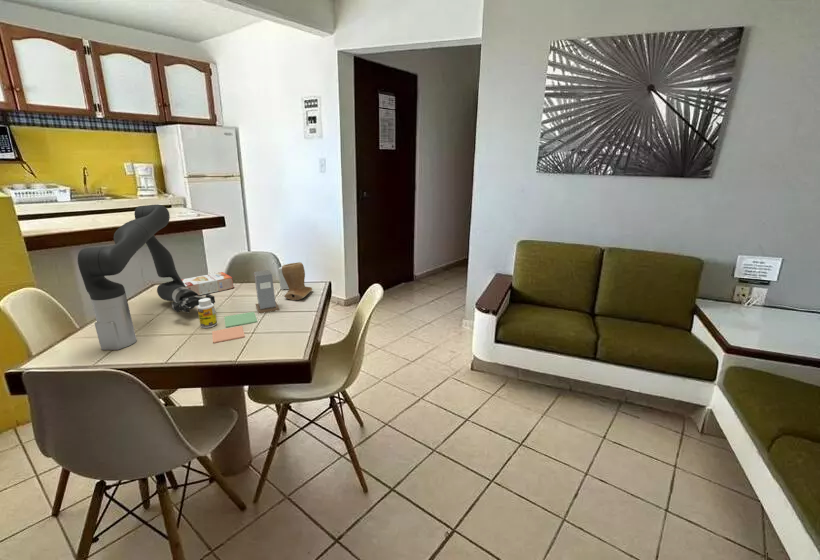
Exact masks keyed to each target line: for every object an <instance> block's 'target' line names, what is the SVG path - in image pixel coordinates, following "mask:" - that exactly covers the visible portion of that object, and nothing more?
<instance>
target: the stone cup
mask: <svg viewBox="0 0 820 560" xmlns="http://www.w3.org/2000/svg"><path fill="white" fill-rule="evenodd" d="M281 266H282V274H283V277H284V278H285V280H286V283H287V285H288V287H289V290H287V292H286V293H285V294H284V295H283V296H284V297H285V298H286V299H289V300H290V301H298V300H299V301H300V300H302V299H303V298H305V297H306V296H307V295H308V294H310V293H311V292H312V291H313V287H311V286H306V285H305V278H306V271H305V267H304V264H303V263H302V262H300V261H299V262H292V263H287V264H283V265H281ZM285 298H284V299H285Z"/></svg>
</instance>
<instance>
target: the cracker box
mask: <svg viewBox="0 0 820 560" xmlns="http://www.w3.org/2000/svg"><path fill="white" fill-rule="evenodd" d="M181 280H182V281H183V283H184V284H185V286H186V288H188V289H190V290H192V291H194V292H196V293H197V294H198V295H199V296H202V295H206V294H211V293H216V292H221V291H226V290H230V289H233V288H234V281H233V277H232V276H231V275H229V274H227V273H225V272H224V271H223V272H222V271H221V272H214V273H209V274H204V275H198V276H193V277H188V278H181Z"/></svg>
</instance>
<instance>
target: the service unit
mask: <svg viewBox="0 0 820 560" xmlns="http://www.w3.org/2000/svg"><path fill="white" fill-rule="evenodd" d="M253 277H254V284H255V290H256V296H257V303H255V308H256V310H257V311H256V312H257V313H258V314H259V313H260V314H265V313H271V312H276V311H275V310H277V311H280V307H279V305H278V303H277V301H276V296H275V288H274V281H273V273H272V272H271V270H270V269H267V270H260V271H259V270H258V271H253ZM270 311H271V312H270ZM264 312H265V313H264Z"/></svg>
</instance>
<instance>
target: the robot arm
mask: <svg viewBox="0 0 820 560" xmlns="http://www.w3.org/2000/svg"><path fill="white" fill-rule="evenodd" d="M170 216H171V215H170V212H169V210H168V208H167V207H166V206H164V205H162V204H148V205H140V206H137V207H135V209H134V219H132V220H129V221H126V222H125V223H123V225H121V226H120V227H118V228H117V229H116V231H115V232H114V234H113V241H114V245H109V246H93V247H84V248H82V249H80V250H79V252H78V254H77V265H78V269H79V273H80V275H81V277H82V278H81V279H82V281H83V285H84V286H85V290H86V292H87V294H88V295H89V298H90V300H91V305H92V308H93V313H94V317H95V320H96V321H95V322H94V328H95V331H96V334H97V339H98V342H99V346H100V350H101V351H102V350H105V351H107V350H111V351H114V350H117V351H119V350H121V349H123V348H127V347H129V346H132V345H134V344H135V343H136V342H137V336H136V332H135V328H134V323H133V319H132V314H131V310H130V306H129V302H128V299H127V294H126V289H125V287H124V285H123V284H122V283H119V282H116V281H112V280H110V279H108V278H107V277H106V276H116V275H119V274H121V272H122V271H124V269H125V268H126V267H127V265H128V263H129V262H130V261H131V259H132V257H133V256H134V255H136V253H137V252H139V250H140V249H141V248H142V247H143V246H144V245H145V244H146V247H147V248H148V250H149V253H150V255H151V257H152V261H153V264H154V267H155V270H156V274H157V276H158V277H159V278H163V279H164V278H171V279H172V280H170V281H166V282H163V283H162V282H161V283H159V285H158V286H157V289H156V293H157V295H158V297H159V298H161V299H162V300H163V301H167V302H171V307H172V310H173V311H174V312H175V313H180V311H182V312H184V313H187V314H189V313H191V311H190V310H191V309H194V308H195V307H196V308H197V306H198V305H199V300H200V299H204V298H210V299H211V303H213V304H214V305H215V303H216V299H215V296H214V295H211V293H208V294H205V296H202V295H198V294H197V293H196V292H194V291H192V290H190V289H188V288H186V286H185V284H184V283H183V281H182V280H181V279H182V278H181V277H180V274H179V273H178V271H177V268H176V264H175V261H174V258H173V256H172V254H171V252H170V251H169V250H168V249H167V247H165V246H164V245H163V244H162V243H161V242H160V241H159V240H158V238H156V236H155V234H156V233H158V232H159V231H161V230H162V229H163V228H165V227H167V225H168V224H169V222H170V219H171V217H170Z"/></svg>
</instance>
